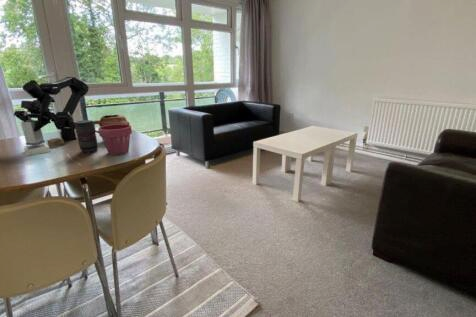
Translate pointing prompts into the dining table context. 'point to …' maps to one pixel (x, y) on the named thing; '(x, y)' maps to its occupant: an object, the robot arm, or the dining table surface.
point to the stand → (36, 149)
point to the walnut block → (55, 142)
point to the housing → (32, 133)
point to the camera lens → (86, 136)
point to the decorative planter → (111, 120)
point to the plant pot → (116, 138)
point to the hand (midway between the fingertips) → (29, 131)
